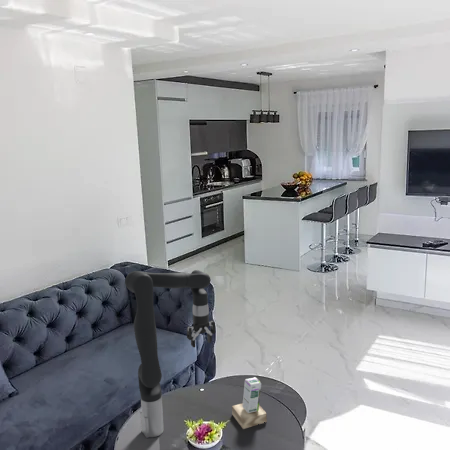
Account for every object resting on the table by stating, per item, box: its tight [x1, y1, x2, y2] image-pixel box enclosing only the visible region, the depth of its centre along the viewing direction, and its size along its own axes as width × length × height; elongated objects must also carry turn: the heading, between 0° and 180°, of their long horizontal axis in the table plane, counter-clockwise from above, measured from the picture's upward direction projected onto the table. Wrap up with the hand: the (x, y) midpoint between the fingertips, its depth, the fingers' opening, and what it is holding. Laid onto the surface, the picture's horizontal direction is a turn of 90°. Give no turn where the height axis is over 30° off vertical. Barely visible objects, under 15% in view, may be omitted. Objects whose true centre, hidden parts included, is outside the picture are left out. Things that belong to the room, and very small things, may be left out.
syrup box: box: [242, 376, 262, 413], centre depth 213 cm, size 6×6×14 cm
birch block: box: [231, 402, 268, 430], centre depth 215 cm, size 12×12×5 cm
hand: (201, 344), depth 219 cm, fingers open, 8 cm apart
